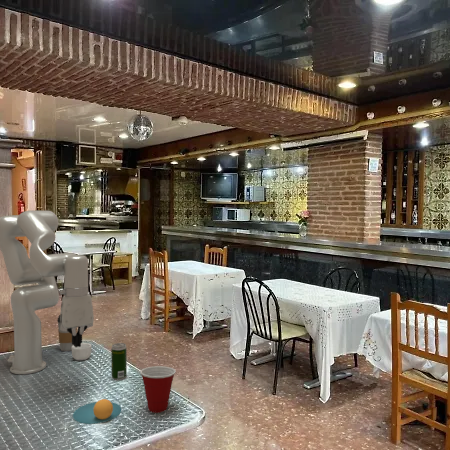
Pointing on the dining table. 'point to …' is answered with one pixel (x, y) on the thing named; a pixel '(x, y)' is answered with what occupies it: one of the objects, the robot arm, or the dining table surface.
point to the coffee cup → (65, 338)
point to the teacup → (81, 351)
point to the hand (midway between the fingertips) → (77, 345)
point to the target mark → (88, 417)
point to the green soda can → (119, 361)
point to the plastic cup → (157, 386)
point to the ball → (103, 409)
